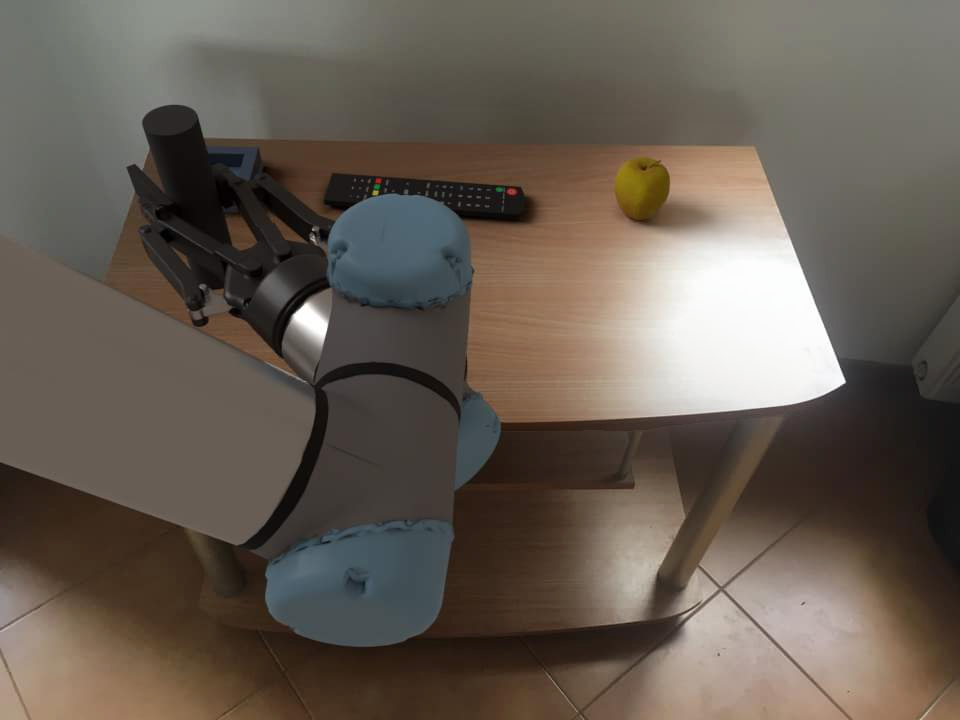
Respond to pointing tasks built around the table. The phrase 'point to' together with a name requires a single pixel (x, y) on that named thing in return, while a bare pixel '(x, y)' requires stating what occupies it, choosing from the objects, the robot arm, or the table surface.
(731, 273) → the table surface
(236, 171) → the socket pad
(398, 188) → the remote control
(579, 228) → the table surface
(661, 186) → the apple
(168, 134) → the tall dark cylinder
